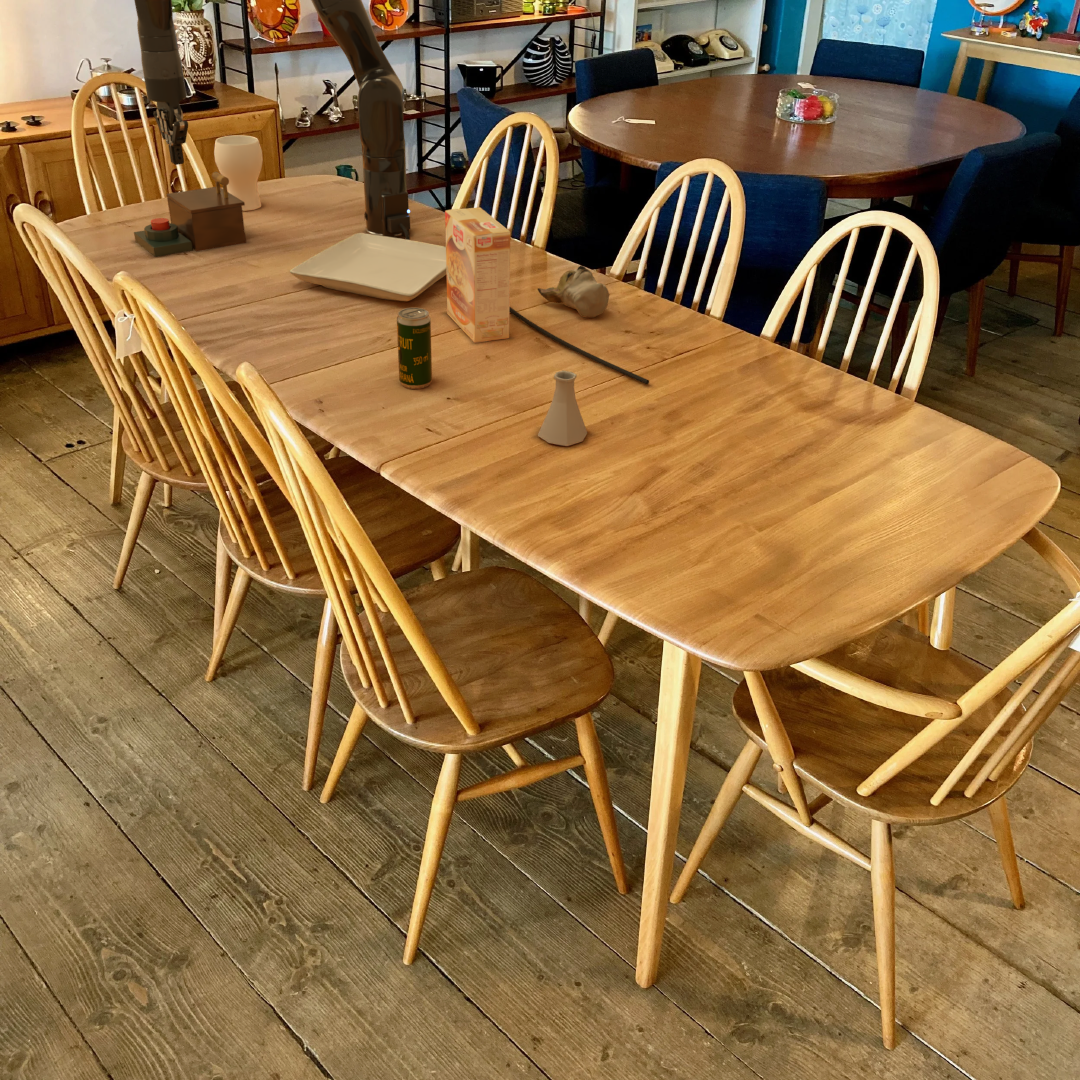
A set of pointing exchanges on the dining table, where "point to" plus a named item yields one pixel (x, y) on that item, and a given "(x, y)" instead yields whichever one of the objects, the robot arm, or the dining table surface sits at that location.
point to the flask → (563, 414)
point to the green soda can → (414, 348)
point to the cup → (240, 167)
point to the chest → (209, 226)
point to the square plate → (376, 266)
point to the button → (160, 224)
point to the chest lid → (207, 197)
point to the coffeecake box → (478, 273)
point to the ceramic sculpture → (579, 292)
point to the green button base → (163, 241)
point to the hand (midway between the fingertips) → (177, 163)
